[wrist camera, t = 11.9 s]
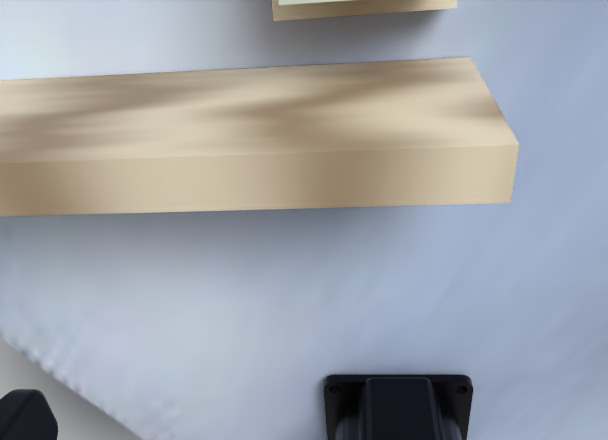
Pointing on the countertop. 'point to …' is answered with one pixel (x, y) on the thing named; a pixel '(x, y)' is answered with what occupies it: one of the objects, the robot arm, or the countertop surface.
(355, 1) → the offcut low
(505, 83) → the countertop surface
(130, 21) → the countertop surface
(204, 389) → the countertop surface
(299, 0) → the offcut top
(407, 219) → the countertop surface
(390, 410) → the robot arm
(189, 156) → the beige shallow tray
